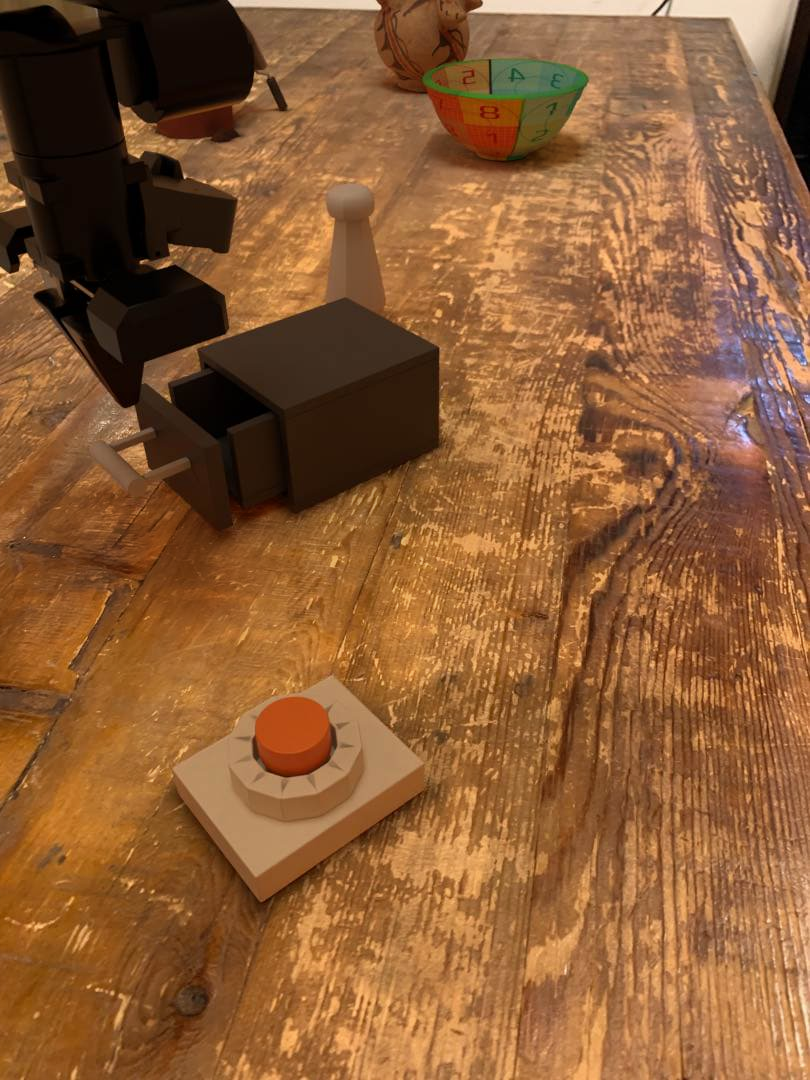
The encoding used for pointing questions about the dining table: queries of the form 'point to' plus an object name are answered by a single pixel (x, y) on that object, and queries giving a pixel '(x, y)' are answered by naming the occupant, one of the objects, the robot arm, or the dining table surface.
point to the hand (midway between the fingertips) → (128, 404)
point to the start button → (293, 736)
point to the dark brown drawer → (202, 446)
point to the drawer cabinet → (337, 394)
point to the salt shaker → (353, 249)
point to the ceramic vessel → (422, 36)
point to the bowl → (504, 103)
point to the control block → (298, 791)
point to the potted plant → (221, 118)
